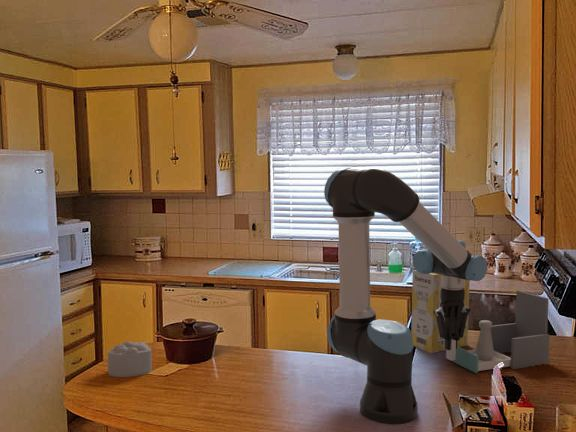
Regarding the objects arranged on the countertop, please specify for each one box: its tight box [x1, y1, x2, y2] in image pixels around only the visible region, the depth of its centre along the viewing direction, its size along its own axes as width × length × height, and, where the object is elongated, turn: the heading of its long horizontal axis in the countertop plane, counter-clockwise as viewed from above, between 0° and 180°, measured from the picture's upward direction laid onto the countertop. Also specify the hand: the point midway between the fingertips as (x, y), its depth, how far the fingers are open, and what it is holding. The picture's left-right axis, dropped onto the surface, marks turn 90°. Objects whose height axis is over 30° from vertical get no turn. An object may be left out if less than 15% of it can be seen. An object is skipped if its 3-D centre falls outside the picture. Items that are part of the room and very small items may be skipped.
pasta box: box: [410, 269, 470, 354], centre depth 205 cm, size 18×10×28 cm, turn 120°
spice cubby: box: [491, 290, 550, 370], centre depth 189 cm, size 15×15×22 cm
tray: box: [445, 346, 511, 374], centre depth 185 cm, size 16×15×6 cm
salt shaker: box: [475, 319, 494, 361], centre depth 185 cm, size 6×6×13 cm
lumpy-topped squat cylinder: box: [107, 340, 153, 378], centre depth 177 cm, size 10×13×9 cm
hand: (450, 359), depth 181 cm, fingers closed
